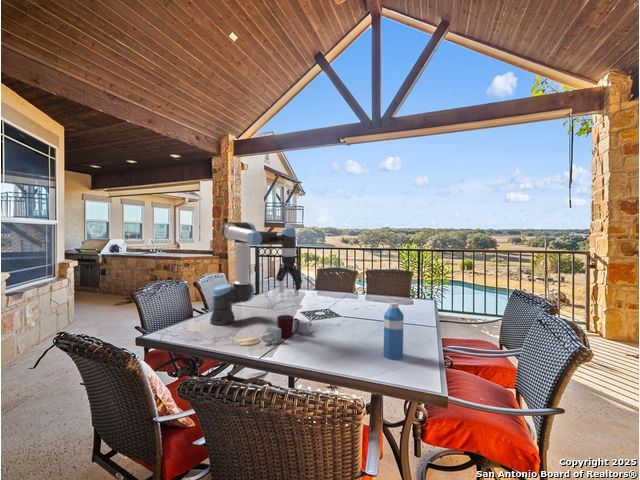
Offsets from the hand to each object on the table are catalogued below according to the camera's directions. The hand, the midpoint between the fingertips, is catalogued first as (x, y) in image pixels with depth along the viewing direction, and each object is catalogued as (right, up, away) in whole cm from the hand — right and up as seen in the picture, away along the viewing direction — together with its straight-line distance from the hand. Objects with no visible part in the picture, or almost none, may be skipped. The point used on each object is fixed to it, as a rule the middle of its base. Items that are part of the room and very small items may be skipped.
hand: (288, 294), depth 166 cm
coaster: (-20, -24, -7) cm, 32 cm away
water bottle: (+52, -25, -24) cm, 63 cm away
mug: (0, -24, +1) cm, 24 cm away
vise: (0, -24, +1) cm, 24 cm away
